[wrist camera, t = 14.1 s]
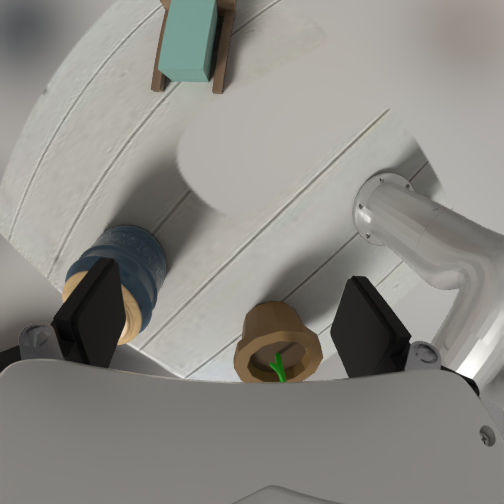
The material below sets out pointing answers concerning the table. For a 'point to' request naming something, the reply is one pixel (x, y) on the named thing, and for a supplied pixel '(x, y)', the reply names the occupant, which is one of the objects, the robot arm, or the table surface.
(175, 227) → the table surface
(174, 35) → the teal rectangular block
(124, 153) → the table surface
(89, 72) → the table surface
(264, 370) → the flowerpot
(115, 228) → the canister
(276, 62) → the table surface
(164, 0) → the book slot
